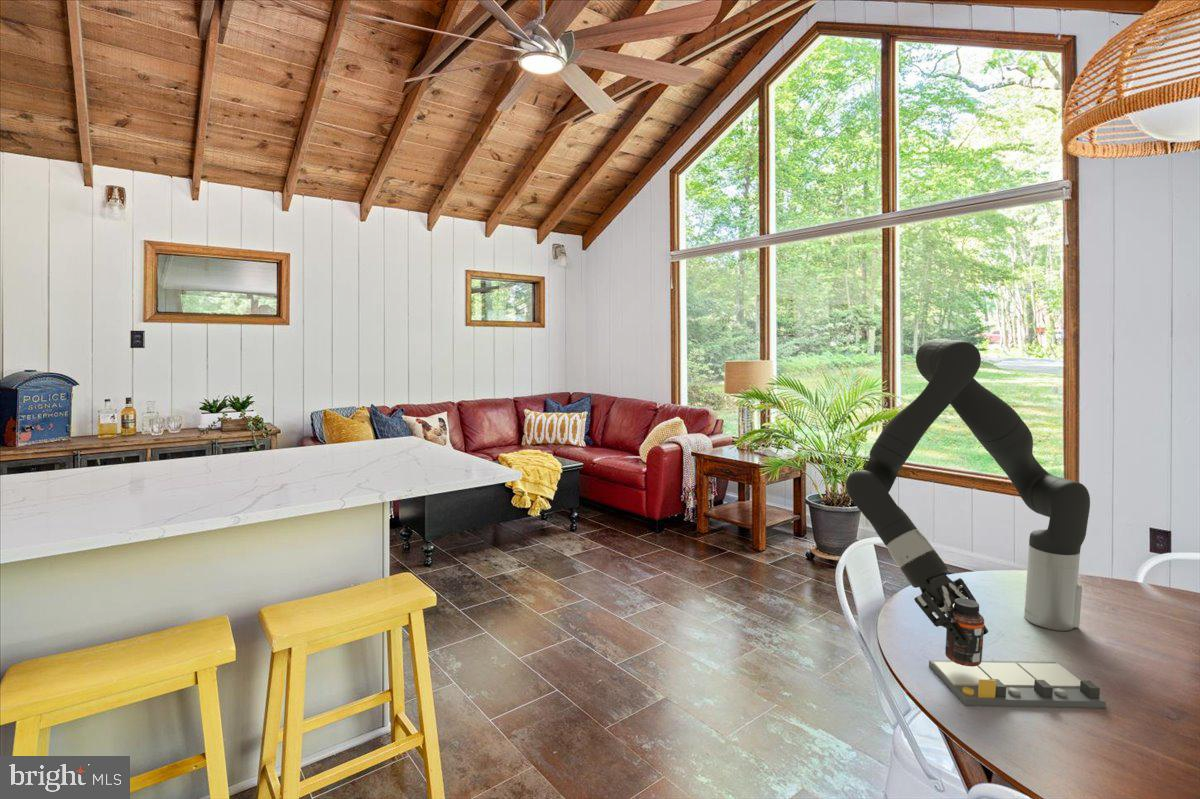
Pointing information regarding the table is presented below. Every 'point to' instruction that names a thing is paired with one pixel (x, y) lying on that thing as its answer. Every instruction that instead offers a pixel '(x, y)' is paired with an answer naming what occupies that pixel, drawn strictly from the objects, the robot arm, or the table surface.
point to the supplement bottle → (973, 628)
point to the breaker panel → (1017, 684)
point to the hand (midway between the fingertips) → (974, 639)
